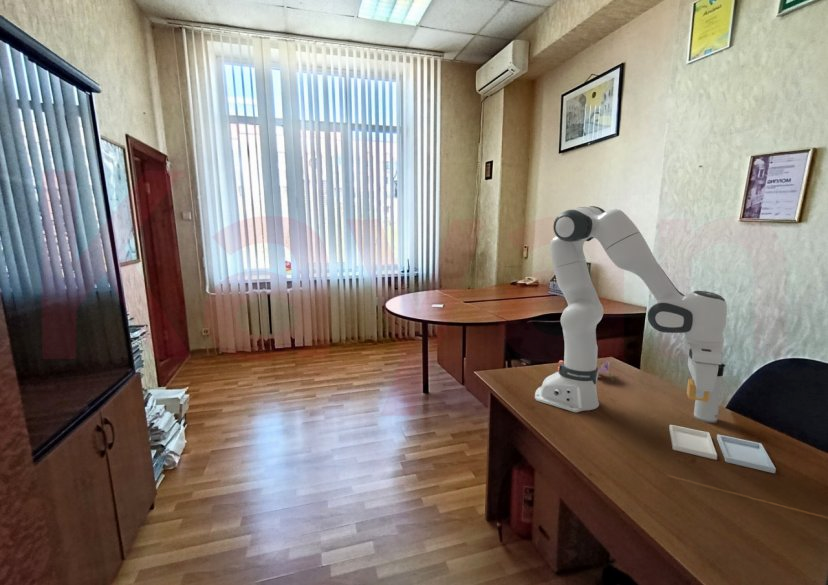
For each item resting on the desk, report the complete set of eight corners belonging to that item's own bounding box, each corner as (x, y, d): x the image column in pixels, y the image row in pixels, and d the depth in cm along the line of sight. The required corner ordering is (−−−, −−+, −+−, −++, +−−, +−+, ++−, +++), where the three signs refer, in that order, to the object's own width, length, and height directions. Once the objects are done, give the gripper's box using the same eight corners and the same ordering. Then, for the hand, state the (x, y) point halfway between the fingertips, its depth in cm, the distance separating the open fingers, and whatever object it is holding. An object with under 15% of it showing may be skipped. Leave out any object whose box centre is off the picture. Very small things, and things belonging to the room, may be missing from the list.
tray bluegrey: (725, 463, 101) (726, 457, 101) (716, 439, 112) (717, 434, 112) (774, 474, 96) (775, 468, 96) (760, 448, 107) (761, 443, 107)
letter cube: (688, 398, 107) (690, 384, 106) (686, 392, 110) (688, 378, 110) (708, 402, 104) (709, 387, 104) (705, 395, 108) (707, 381, 107)
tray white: (672, 450, 107) (673, 445, 107) (669, 429, 118) (669, 424, 118) (716, 461, 102) (717, 455, 102) (708, 437, 113) (709, 432, 113)
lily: (613, 375, 163) (602, 355, 165) (631, 375, 152) (619, 354, 154) (591, 386, 161) (580, 366, 163) (607, 387, 150) (596, 365, 151)
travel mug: (722, 425, 120) (730, 367, 116) (699, 423, 121) (706, 366, 118) (711, 415, 126) (718, 360, 122) (689, 414, 127) (696, 359, 124)
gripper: (684, 336, 115) (680, 378, 118) (693, 357, 98) (688, 405, 100) (710, 339, 112) (705, 382, 114) (724, 361, 95) (717, 410, 97)
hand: (697, 393), depth 107 cm, fingers closed on letter cube, 4 cm apart
